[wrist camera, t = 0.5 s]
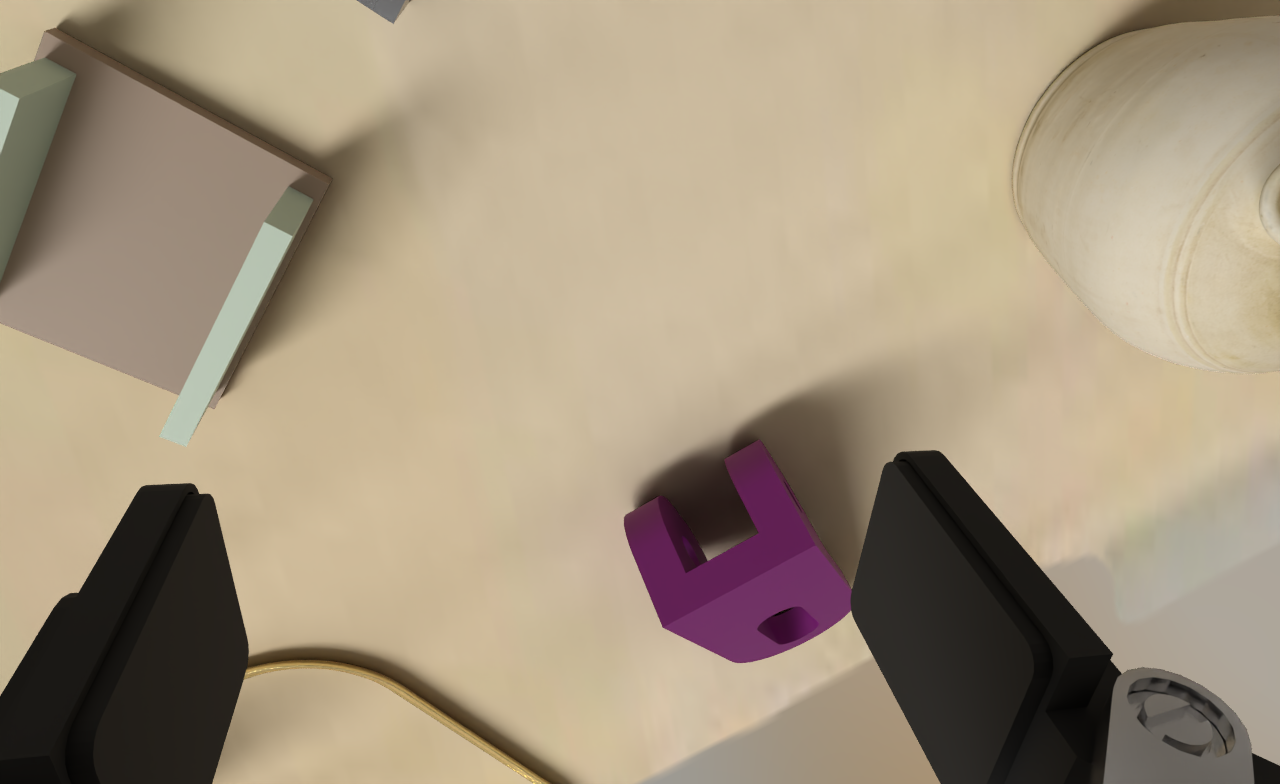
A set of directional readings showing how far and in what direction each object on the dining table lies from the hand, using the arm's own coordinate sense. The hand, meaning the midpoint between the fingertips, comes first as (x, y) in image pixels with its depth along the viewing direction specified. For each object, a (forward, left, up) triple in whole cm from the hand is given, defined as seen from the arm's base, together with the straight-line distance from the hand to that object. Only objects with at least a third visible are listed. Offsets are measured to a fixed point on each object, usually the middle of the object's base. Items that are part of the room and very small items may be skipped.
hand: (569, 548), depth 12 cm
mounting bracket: (+17, +28, -32) cm, 46 cm away
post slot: (+15, -11, -32) cm, 37 cm away
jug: (-15, +29, -32) cm, 46 cm away
